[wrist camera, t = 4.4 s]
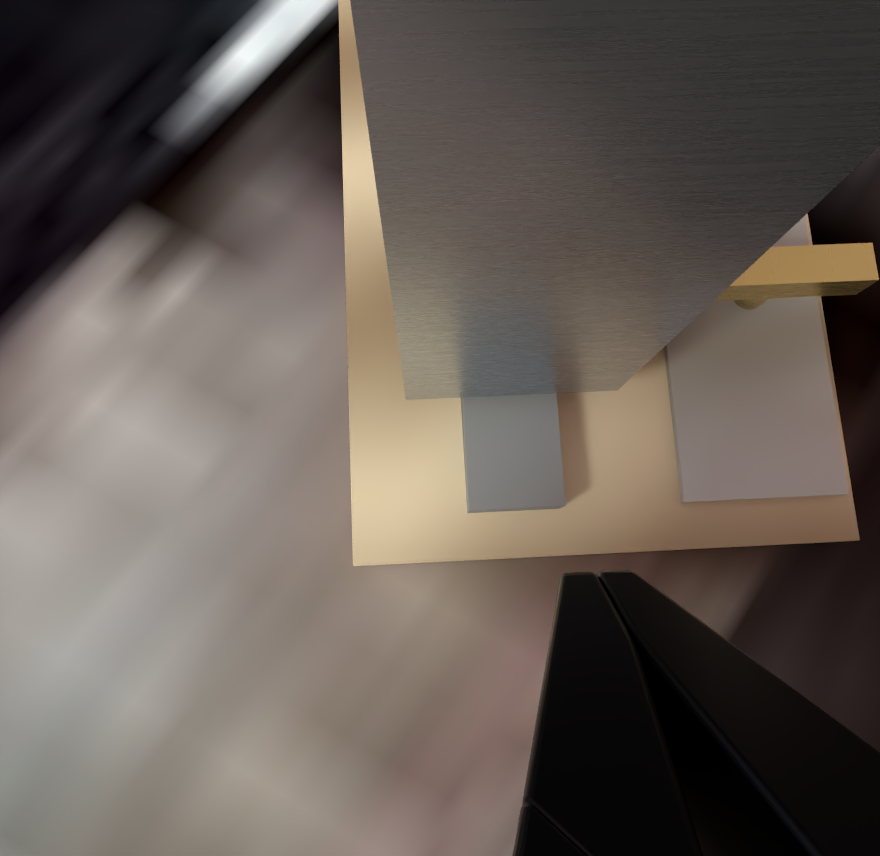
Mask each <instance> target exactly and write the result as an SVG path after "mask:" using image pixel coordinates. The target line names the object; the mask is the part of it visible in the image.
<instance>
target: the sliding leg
mask: <svg viewBox="0 0 880 856" xmlns="http://www.w3.org/2000/svg"><path fill="white" fill-rule="evenodd" d="M350 4H351V11H352V18H353V25H354V32H355V39H356V47H357V54H358V61H359V68H360V75H361V82H362V89H363V97H364V104H365V111H366V118H367V125H368V132H369V140H370V147H371V154H372V161H373V168H374V175H375V182H376V190H377V197H378V204H379V211H380V218H381V225H382V232H383V240H384V247H385V254H386V261H387V268H388V275H389V283H390V290H391V297H392V304H393V311H394V318H395V325H396V333H397V340H398V347H399V354H400V361H401V368H402V375H403V383H404V390H405V397H406V400H417V399H440V398H462V397H484V396H506V395H529V394H551V393H573V392H596V391H618V390H619V389H620V388H621V387H622V386H623V385H624V384H625V383H626V382H627V381H628V380H629V379H630V378H631V377H633V376H634V375H635V374H636V373H637V372H638V371H639V370H640V369H641V368H642V367H643V366H644V365H645V364H646V363H648V362H649V361H650V360H651V359H652V358H653V357H654V356H655V355H656V354H657V353H658V352H659V351H660V350H661V349H663V348H664V347H665V346H666V345H667V344H668V343H669V342H670V341H671V340H672V339H673V338H674V337H675V336H676V335H678V334H679V333H680V332H681V331H682V330H683V329H684V328H685V327H686V326H687V325H688V324H689V323H690V322H691V321H693V320H694V319H695V318H696V317H697V316H698V315H699V314H700V313H701V312H702V311H703V310H704V309H705V308H706V307H708V306H709V305H710V304H711V303H712V302H713V301H719V300H734V302H735V303H736V304H737V305H738V306H739V307H741V308H743V309H747V310H751V309H755V308H757V307H758V306H760V305H761V304H762V303H764V302H765V301H766V300H767V299H769V298H791V297H815V296H838V295H856V294H858V293H859V292H861V291H862V290H864V289H865V288H867V287H869V286H870V285H872V284H873V283H875V282H876V281H878V280H879V277H878V271H877V266H876V260H875V254H874V249H873V243H853V244H828V245H803V246H778V247H772V246H773V245H774V244H775V243H776V242H777V241H778V240H779V239H780V238H781V237H782V236H784V235H785V234H786V233H787V232H788V231H789V230H790V229H791V228H792V227H793V226H794V225H795V224H796V223H797V222H799V221H800V220H801V219H802V218H803V217H804V216H805V215H806V214H807V213H808V212H809V211H810V210H811V209H812V208H814V207H815V206H816V205H817V204H818V203H819V202H820V201H821V200H822V199H823V198H824V197H825V196H826V195H827V194H829V193H830V192H831V191H832V190H833V189H834V188H835V187H836V186H837V185H838V184H839V183H840V182H841V181H842V180H844V179H845V178H846V177H847V176H848V175H849V174H850V173H851V172H852V171H853V170H854V169H855V168H856V167H857V166H859V165H860V164H861V163H862V162H863V161H864V160H865V159H866V158H867V157H868V156H869V155H870V154H871V153H872V152H874V151H875V150H876V149H877V148H878V147H879V146H880V0H350Z"/></svg>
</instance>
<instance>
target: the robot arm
mask: <svg viewBox="0 0 880 856" xmlns="http://www.w3.org/2000/svg"><path fill="white" fill-rule="evenodd" d="M512 856H880V752H878V751H877V750H876V749H874V748H873V747H872V746H870V745H869V744H868V743H866V742H865V741H863V740H862V739H861V738H859V737H858V736H857V735H855V734H854V733H853V732H851V731H850V730H849V729H847V728H846V727H844V726H843V725H842V724H840V723H839V722H838V721H836V720H835V719H834V718H832V717H831V716H829V715H828V714H827V713H825V712H824V711H823V710H821V709H820V708H819V707H817V706H816V705H815V704H813V703H812V702H810V701H809V700H808V699H806V698H805V697H804V696H802V695H801V694H800V693H798V692H797V691H795V690H794V689H793V688H791V687H790V686H789V685H787V684H786V683H785V682H783V681H782V680H781V679H779V678H778V677H776V676H775V675H774V674H772V673H771V672H770V671H768V670H767V669H766V668H764V667H763V666H761V665H760V664H759V663H757V662H756V661H755V660H753V659H752V658H751V657H749V656H748V655H747V654H745V653H744V652H742V651H741V650H740V649H738V648H737V647H736V646H734V645H733V644H732V643H730V642H729V641H727V640H726V639H725V638H723V637H722V636H721V635H719V634H718V633H717V632H715V631H714V630H713V629H711V628H710V627H708V626H707V625H706V624H704V623H703V622H702V621H700V620H699V619H698V618H696V617H695V616H693V615H692V614H691V613H689V612H688V611H687V610H685V609H684V608H683V607H681V606H680V605H678V604H677V603H676V602H674V601H673V600H672V599H670V598H669V597H668V596H666V595H665V594H664V593H662V592H661V591H659V590H658V589H657V588H655V587H654V586H653V585H651V584H650V583H649V582H647V581H646V580H644V579H643V578H642V577H640V576H639V575H638V574H636V573H635V572H632V571H631V570H612V571H601V572H599V573H598V574H597V575H596V574H595V573H593V572H574V573H565V574H563V575H562V576H561V578H560V583H559V589H558V595H557V601H556V607H555V613H554V619H553V624H552V630H551V636H550V642H549V648H548V654H547V660H546V666H545V672H544V678H543V684H542V689H541V695H540V701H539V707H538V713H537V719H536V725H535V731H534V737H533V743H532V748H531V754H530V760H529V766H528V772H527V778H526V784H525V790H524V796H523V804H522V807H521V810H520V816H519V822H518V828H517V834H516V840H515V846H514V850H513V855H512Z"/></svg>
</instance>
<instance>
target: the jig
mask: <svg viewBox="0 0 880 856" xmlns="http://www.w3.org/2000/svg"><path fill="white" fill-rule="evenodd" d="M339 38H340V77H341V115H342V154H343V193H344V231H345V270H346V309H347V347H348V386H349V425H350V463H351V502H352V541H353V566H367V565H387V564H406V563H426V562H446V561H466V560H486V559H506V558H526V557H545V556H565V555H585V554H605V553H625V552H645V551H665V550H684V549H704V548H724V547H744V546H764V545H784V544H803V543H823V542H841V541H857V540H860V538H859V532H858V526H857V519H856V513H855V507H854V501H853V494H852V488H851V482H850V476H849V469H848V463H847V457H846V451H845V444H844V438H843V432H842V426H841V419H840V413H839V407H838V401H837V394H836V388H835V382H834V376H833V369H832V363H831V357H830V351H829V344H828V338H827V332H826V326H825V319H824V313H823V307H822V301H821V296H815V297H791V298H769V299H767V300H766V301H765V302H764V303H762V304H761V305H760V306H758V307H757V308H755V309H751V310H747V309H743V308H741V307H739V306H738V305H737V304H736V303H735V302H734V300H719V301H713V302H712V303H711V304H710V305H709V306H708V307H706V308H705V309H704V310H703V311H702V312H701V313H700V314H699V315H698V316H697V317H696V318H695V319H694V320H693V321H691V322H690V323H689V324H688V325H687V326H686V327H685V328H684V329H683V330H682V331H681V332H680V333H679V334H678V335H676V336H675V337H674V338H673V339H672V340H671V341H670V342H669V343H668V344H667V345H666V346H665V347H664V348H663V349H661V350H660V351H659V352H658V353H657V354H656V355H655V356H654V357H653V358H652V359H651V360H650V361H649V362H648V363H646V364H645V365H644V366H643V367H642V368H641V369H640V370H639V371H638V372H637V373H636V374H635V375H634V376H633V377H631V378H630V379H629V380H628V381H627V382H626V383H625V384H624V385H623V386H622V387H621V388H620V389H619V390H618V391H596V392H573V393H551V394H529V395H506V396H484V397H462V398H440V399H417V400H406V397H405V390H404V383H403V375H402V368H401V361H400V354H399V347H398V340H397V333H396V325H395V318H394V311H393V304H392V297H391V290H390V283H389V275H388V268H387V261H386V254H385V247H384V240H383V232H382V225H381V218H380V211H379V204H378V197H377V190H376V182H375V175H374V168H373V161H372V154H371V147H370V140H369V132H368V125H367V118H366V111H365V104H364V97H363V89H362V82H361V75H360V68H359V61H358V54H357V47H356V39H355V32H354V25H353V18H352V11H351V4H350V0H339ZM803 245H813V244H812V238H811V232H810V226H809V219H808V213H807V214H806V215H805V216H804V217H803V218H802V219H801V220H800V221H799V222H797V223H796V224H795V225H794V226H793V227H792V228H791V229H790V230H789V231H788V232H787V233H786V234H785V235H784V236H782V237H781V238H780V239H779V240H778V241H777V242H776V243H775V244H774V245H773V246H772V247H778V246H803Z"/></svg>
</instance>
